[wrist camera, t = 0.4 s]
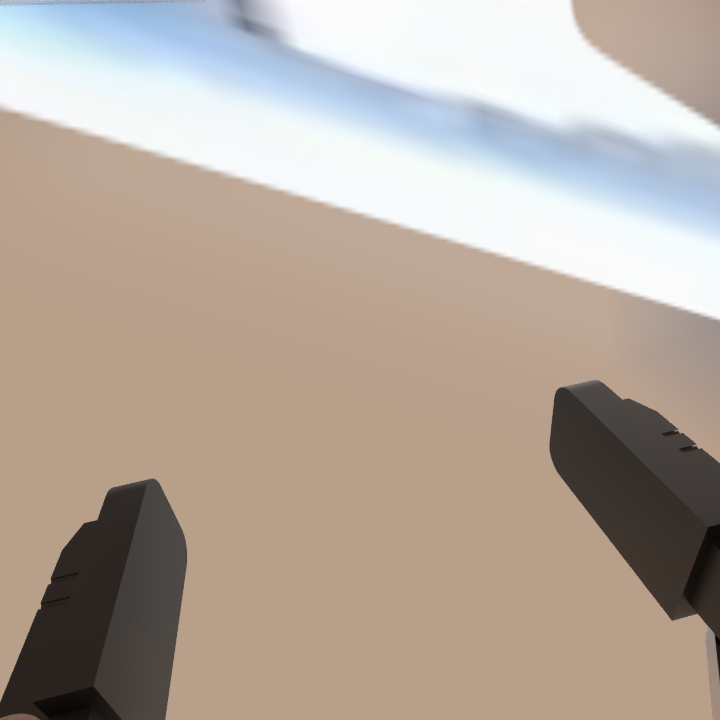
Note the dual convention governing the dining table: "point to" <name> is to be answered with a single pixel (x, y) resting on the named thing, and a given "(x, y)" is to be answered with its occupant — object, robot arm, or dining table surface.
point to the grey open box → (82, 1)
